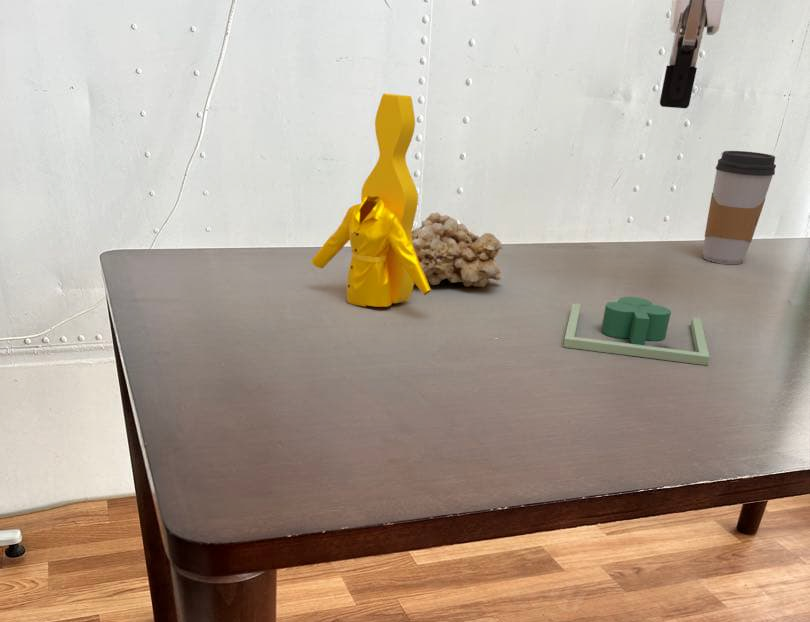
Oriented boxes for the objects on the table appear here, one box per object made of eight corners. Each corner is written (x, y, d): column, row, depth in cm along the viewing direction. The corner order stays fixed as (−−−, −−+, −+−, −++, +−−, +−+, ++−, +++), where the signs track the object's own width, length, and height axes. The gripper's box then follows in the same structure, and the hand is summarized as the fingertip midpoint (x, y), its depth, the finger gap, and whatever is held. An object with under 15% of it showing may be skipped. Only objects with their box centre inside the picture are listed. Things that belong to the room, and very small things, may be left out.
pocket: (571, 311, 99) (572, 303, 99) (698, 326, 97) (700, 318, 96) (563, 347, 88) (564, 338, 87) (707, 365, 85) (709, 356, 85)
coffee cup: (749, 269, 123) (779, 160, 115) (692, 261, 125) (717, 154, 117) (750, 257, 129) (778, 154, 121) (696, 250, 132) (720, 148, 124)
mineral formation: (397, 291, 102) (395, 254, 114) (499, 313, 104) (487, 274, 116) (412, 226, 98) (408, 195, 110) (518, 250, 100) (503, 217, 112)
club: (670, 348, 89) (677, 321, 88) (604, 342, 90) (609, 315, 88) (658, 325, 96) (664, 299, 95) (597, 319, 97) (602, 294, 95)
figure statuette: (301, 292, 100) (297, 87, 88) (343, 280, 105) (345, 86, 94) (417, 325, 91) (430, 103, 80) (456, 311, 97) (474, 101, 85)
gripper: (762, -105, 76) (712, 114, 86) (744, -85, 89) (703, 105, 99) (680, -108, 78) (640, 109, 88) (674, -88, 90) (639, 100, 100)
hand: (673, 106), depth 93 cm, fingers closed
